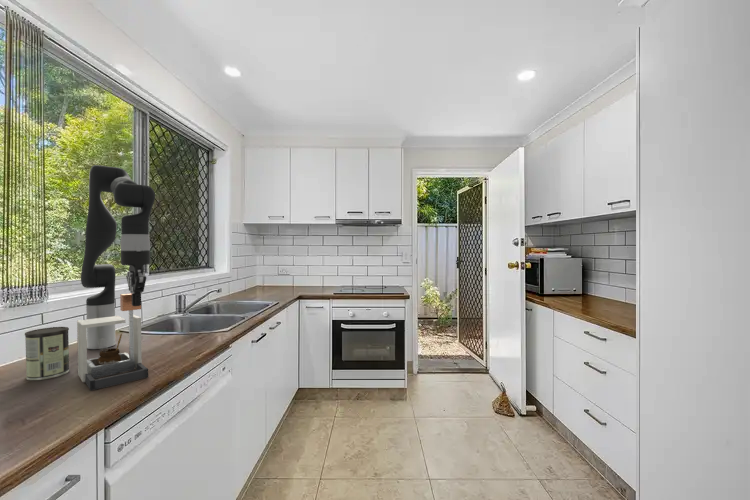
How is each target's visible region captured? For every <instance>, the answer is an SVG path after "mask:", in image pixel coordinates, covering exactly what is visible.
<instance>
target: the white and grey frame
mask: <svg viewBox="0 0 750 500" xmlns="http://www.w3.org/2000/svg"><path fill="white" fill-rule="evenodd" d="M126 322H127V321H126V319H125V318H123V317H122V316H120V315H115V316H112V317H104V318H95V319H87V318H86V319H81V320H80V319H79V320H77V321H76V327H77V328H76V329H77V330H76V331H77V335H76V337H77V338H76V339H77V375H78V377H79V378H80V380H81V382H82V383H86V382H85V374H88V373H87V360H88V349H87V328H90V327H98V326H106V325H113V324H115V325H120V324H126ZM133 333H134V359H135V370H137V363H141V364H142V363H143V362H142V357H143V356H142V353H143V352H142V317H140V316H138V315H136V314H134V313H133ZM142 365H143V364H142Z"/></svg>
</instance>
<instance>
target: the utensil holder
mask: <svg viewBox="0 0 750 500" xmlns="http://www.w3.org/2000/svg"><path fill="white" fill-rule="evenodd" d="M122 336H123V333H121V334H119V338H118V340H117V341H118V342H117V347H115V348H109V347H107V348H105V349H104V348H103V347H102V348H101V349H99V350H100V351H99V357H98V358H99V359H98V366H99V365H104V364H109V363H114V362H119V361H121V356H120V354H121V353H120V349H119V346H120V343H121V341H122V340H121V339H122ZM102 339H104V338H102ZM105 340H106V339H105ZM106 341H107V340H106ZM103 342H105V341H103ZM100 344H102V343H100ZM98 345H99V344H98ZM104 346H105V345H104Z"/></svg>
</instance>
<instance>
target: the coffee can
mask: <svg viewBox="0 0 750 500" xmlns="http://www.w3.org/2000/svg"><path fill="white" fill-rule="evenodd" d="M69 330H70V329H69V327H68V326H51V327H42V328H37V329H32V330H29V331H26V332H24V336H25V337H24V338H25V340H24V341H25V371H26V375H25V376H26V378H25V379H26V381H27V380H28V381H42V380H49V379H53V378H57V377H60V376H63V375H66V374H68V373H69V372H70V362H69V361H70V353H69V352H70V351H69V350H70V348H69V347H70V346H69V341H70V340H69Z"/></svg>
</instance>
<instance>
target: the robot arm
mask: <svg viewBox="0 0 750 500" xmlns="http://www.w3.org/2000/svg"><path fill="white" fill-rule="evenodd" d="M88 177H89V179H88V209H87V211H88V212H87V218H86V225H85V226H86V227H85V242H84V243H85V245H84V254H83V255H84V256H83V260H82V266H81V267H82V268H81V272H80V274H81V275H80V283H81V285H82V287H84V288H86V289H93V288H94V289H95V288H103V290H101V291H100V292H99V293H96V294H94V295H91V296H88V297H87V298H86V300H85V304H86V306H85V308H86V311H85V312H86V320H87V319H95V318H104V317H112V316H116V304H115V303H116V301H115V300H116V269H115V266H114V265H113V264H111V263H110V264H109V263H108V264H107V263H106V264H96V262H97V261H98V259H99V258H100V256H101V255H103V253H105V251H107V250H108V249H109V248H110V247H111V246H112V244H113V243H114V242H115V240H116V237H117V228H118V223H117V220H116V219H115V217H114V216H113V214H112V213H111V212H110V211H109V209H108V208H107V206H106V204H105V203H104V201H103V199H102V196H101V195H102V192H103V193H112V194H113V199H114V201H115V203H116V204H117V205H118V206H120V207H123V208H124V207H126V208H140V209H139V212H138V213H133V214H125V215H123V216H122V217H121V225H120V226H121V229H120V231H121V238H120V264H121V266H128V271H126V275H125V276H126V282H127V285H128V286H127V287H128V291H129V294H131V296H132V306H140V305H141V306H142V293H143V292H145V286H146V282H147V276H146V271H145V270H144V267H143V266H148V265H150V264H151V241H150V218H151V212H152V209H153V207H154V203H155V200H156V193H155V190H154V188H152V187H151V186H150V185H145V184H137V182H135V181H133V180H132V178H131V176H130V175H129V173H128V172H127V171H126V170H125V169H123V168H120V167H115V166H109V165H108V166H107V165H100V164H99V165H98V164H96V165H95V164H94V165H92V166H91V168H90V170H89V176H88ZM140 293H141V294H140ZM102 338H104V339H102ZM105 339H106V340H107V341H106V340H105ZM103 341H105V342H103ZM100 343H102V344H100ZM98 344H99V345H98ZM104 345H105V346H104ZM115 345H116V324H113V325H106V326H98V327H90V328H87V350H100V349H101V350H102V349H107V348H110V347H113V346H115ZM102 347H103V348H102Z"/></svg>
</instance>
